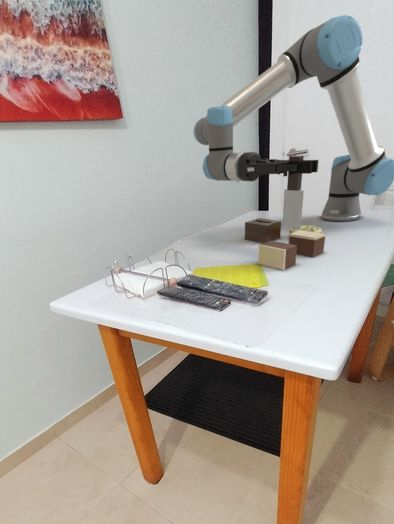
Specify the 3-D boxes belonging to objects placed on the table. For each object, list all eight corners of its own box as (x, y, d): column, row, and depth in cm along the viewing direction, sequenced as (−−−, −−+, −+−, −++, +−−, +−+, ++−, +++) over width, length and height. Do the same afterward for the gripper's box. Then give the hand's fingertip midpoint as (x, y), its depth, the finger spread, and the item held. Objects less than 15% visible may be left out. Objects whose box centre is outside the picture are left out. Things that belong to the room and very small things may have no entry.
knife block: (259, 234, 128) (259, 218, 125) (280, 238, 122) (281, 220, 118) (244, 239, 124) (244, 222, 121) (266, 243, 117) (266, 225, 114)
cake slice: (271, 240, 99) (258, 244, 96) (297, 245, 93) (284, 250, 91) (270, 259, 102) (258, 264, 99) (295, 264, 96) (283, 270, 93)
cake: (298, 248, 110) (300, 230, 107) (323, 252, 104) (325, 233, 101) (288, 252, 107) (289, 233, 104) (312, 257, 101) (315, 237, 98)
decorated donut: (314, 243, 113) (316, 231, 111) (284, 240, 119) (285, 229, 117) (324, 235, 120) (326, 224, 118) (295, 233, 126) (296, 222, 124)
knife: (284, 226, 99) (288, 155, 89) (301, 228, 95) (308, 155, 85) (280, 227, 98) (284, 156, 88) (298, 230, 94) (304, 156, 84)
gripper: (260, 177, 106) (328, 179, 90) (227, 184, 98) (295, 187, 82) (261, 150, 102) (332, 146, 86) (226, 154, 94) (297, 152, 78)
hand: (314, 166), depth 84 cm, fingers closed on knife, 2 cm apart
